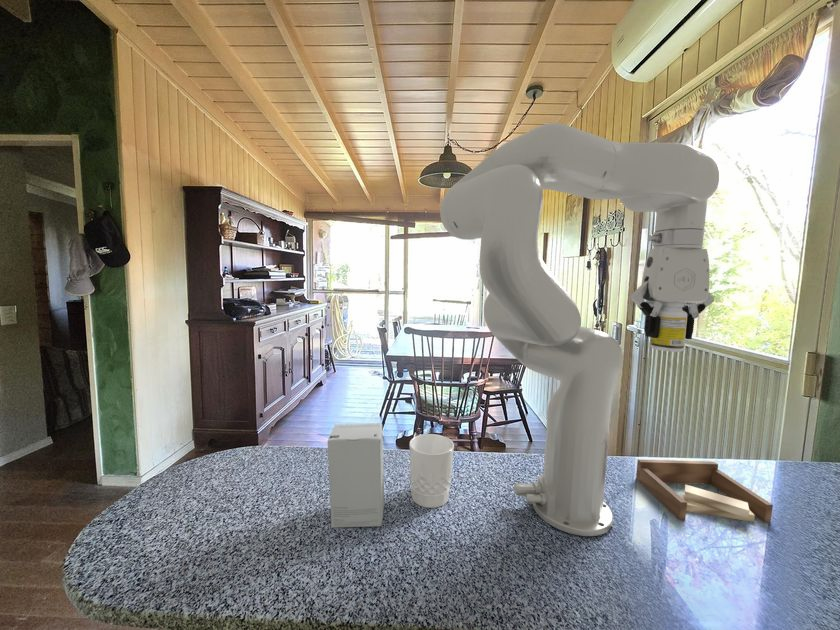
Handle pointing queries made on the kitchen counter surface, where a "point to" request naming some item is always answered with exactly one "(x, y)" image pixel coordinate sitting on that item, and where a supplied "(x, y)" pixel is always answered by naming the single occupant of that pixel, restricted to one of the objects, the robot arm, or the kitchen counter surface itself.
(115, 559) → the kitchen counter surface
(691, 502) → the middle offcut
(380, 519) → the skincare box
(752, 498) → the walnut rack
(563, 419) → the robot arm
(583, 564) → the kitchen counter surface
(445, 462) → the white cup
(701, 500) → the top offcut
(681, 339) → the supplement bottle
